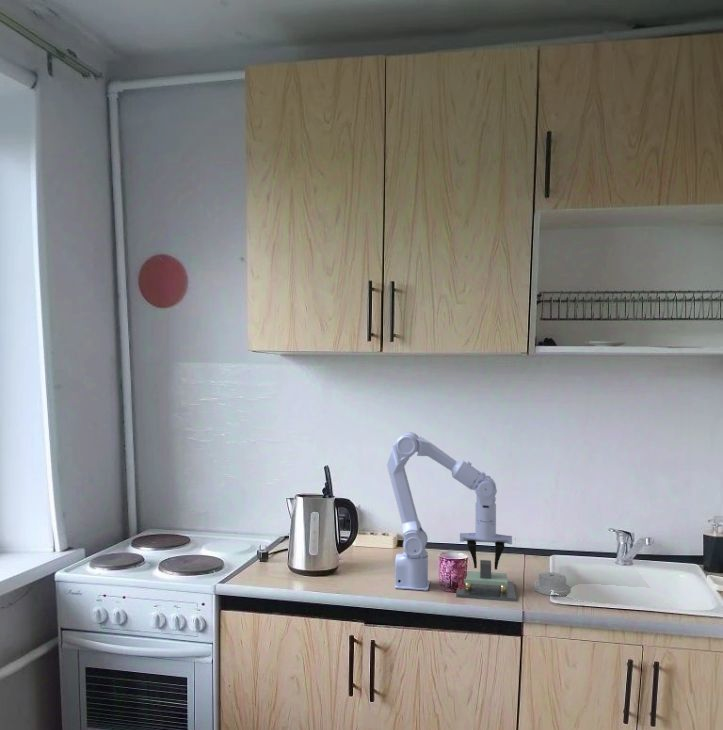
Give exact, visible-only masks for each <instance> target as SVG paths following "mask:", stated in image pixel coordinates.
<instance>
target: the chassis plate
mask: <svg viewBox="0 0 723 730" xmlns="http://www.w3.org/2000/svg"><path fill="white" fill-rule="evenodd" d="M455 592H456V593H455V597H456V598H461V599H462V598H463V599H478V600H493V601H506V602H517V596H516V591H515V584H514V581H508V586H500V585H485V584H471V583H465V589H462V590H457V589H456V591H455Z"/></svg>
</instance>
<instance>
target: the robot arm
mask: <svg viewBox="0 0 723 730" xmlns="http://www.w3.org/2000/svg"><path fill="white" fill-rule="evenodd" d="M416 453H417V454H416ZM414 454H416V456H417V457H428V458H430V459H432V460H433V461H435V462H437V463H438V464H439V465H441V466H443V467H444V468H445V469H448V470H449V471H450V472H451V476H452V478H454V479H455V480H456V481H458V482H459V483H460V484H462V485H463V486H465V487H466V488H467V489H469V490H471V491H474V492H475V494H476V502H475V532H468V533H467V532H466V533H465V532H464V533H463V532H462V533H461V532H460V533H459V542H460V543H461V542H466V545H467V548H468V550H469V553H470V555H471V558H472V562H473V569H477V567H478V566H477V565H478V563H477V561H478V560H477V542H478V543H492V544H493V543H494V570H498V568H499V567H498V566H499V561H500V560H501V559H500V558H501V555H502V553H503V551H504V549H505V544H508V545H513V536H512V535H505V534H497V504H496V499H497V498H496V495H497V493H498V491H497V485H496V482H495V480H494V479H493V478H491V476H490V475H486V472H484V471H482V472H481V471H480V470H478V469H477V468H475V467H474V466H472V462H470V461H465V460H460V461H457V460H455V459H454V458H453V457H451V456H450V455H449V454H447V453H446V452H444V450H442V449H440V448H439V447H437V446H436V445H435V444H434V443H432V442H431V441H429V440H428V439H426V438H424V437H422V436H419V435H418V434H416V433H415V432H412V431H408V432H407V431H406V432H404V433H403V434H402V435H401V436H399V437H398V438H397V439H396V441H395V442H394V443H393V445H392V447H391V451H390V454H389V457H388V459H387V463H386V467H387V472H388V476H389V479H390V482H391V483H390V484H391V486H392V491H393V494H394V498H395V501H396V506H397V509H398V512H399V517H400V520H401V523H402V536H403V542H402V548H403V552H402V553H396V555H395V560H394V561H395V563H394V567H395V568H394V573H395V574H394V588H395V589H398V590H399V589H400V590H401V589H403V590H415V591H416V590H417V591H429V587H430V584H431V579H429V578H428V577H429V574H428V572H429V554H428V551H427V549H426V546H427V543H428V539H429V538H428V535H427V532H426V531H424V529H423V527H422V524H421V522H420V520H419V518H418V517H419V516H418V514H417V510H416V507H415V503H414V502H415V501H414V499H413V495H412V491H411V487H410V484H409V483H410V482H409V479H408V476H407V472H406V468H405V466H406V464H407V463H408V462H409V460H410V458H411V457H413V455H414Z"/></svg>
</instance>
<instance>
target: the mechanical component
mask: <svg viewBox="0 0 723 730" xmlns="http://www.w3.org/2000/svg"><path fill="white" fill-rule="evenodd" d="M533 589H534V591H536V592H537V593H539V594H542V595H546V596H551V595H550V594H551V592H552V591H551V590H554V593H557V594H559V595H561V596H560V597H564V596H568V595H570V594H571V593H572V592H571V591H572V588H571V586H570V585H569V584H567V578H566V575H563V574H562V573H558V572H552V571H549V572H548V571H545V572H541V573H540V572H539V573H538V580H537V581H535V582H534V583H533Z"/></svg>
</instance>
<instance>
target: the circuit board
mask: <svg viewBox="0 0 723 730" xmlns="http://www.w3.org/2000/svg"><path fill="white" fill-rule="evenodd" d="M479 564H480V566H479V569H480V570H479V571H476V570H466V571H467V577H466V579H464V583H471V584H485V585H500V586H508V580H509V579H508V573H505V572H492V561H491V560H489V559H480V560H479Z"/></svg>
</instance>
